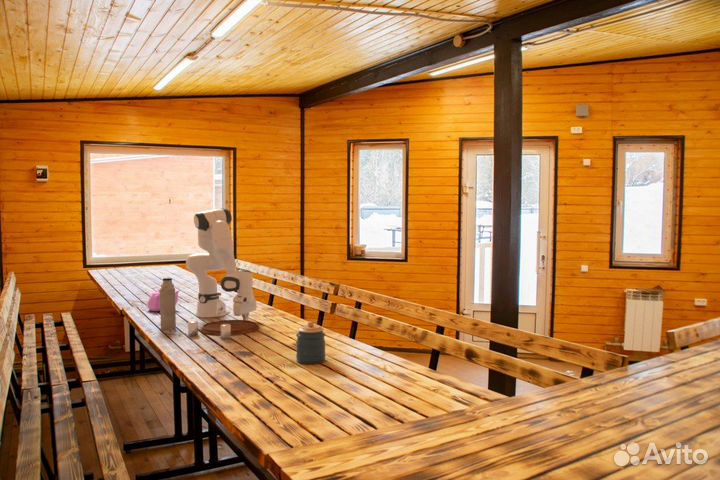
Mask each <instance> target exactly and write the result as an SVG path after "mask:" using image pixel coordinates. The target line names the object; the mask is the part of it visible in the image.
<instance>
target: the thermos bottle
mask: <svg viewBox="0 0 720 480" xmlns="http://www.w3.org/2000/svg"><path fill="white" fill-rule="evenodd" d="M160 286H161V288H159V289H160V311H159V312H160V329H161V330H174V329H175V328H176V326H177V325H176V324H177V323H176V321H177V319H176V316H177V313H176V304H175V292H176V288H175V284H174V283H173V278H171V277H170V278H169V277H166V278H164V277H163V278H162V284H161V285H160Z"/></svg>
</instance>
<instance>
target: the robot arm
mask: <svg viewBox="0 0 720 480" xmlns="http://www.w3.org/2000/svg"><path fill="white" fill-rule="evenodd" d="M232 221H233V219H232V214H231V211H230V210H229V209H227V208H218V209H217V208H216V209H215V208H214V209H210V210H209V209H208V210H205V211H199V212H196V213H195V215H193V223H194V226H195V228H196V229H197V239H198V241H197V244H198V246H199V248H200V249H202V250H203V251H206V252H207V253H194V254H188V256H187V258H186V260H185V265H186V268H187V270H189V271H190V272H192V273H193V274H194V275H195V277H196V279H197V283H198V295H197V298H198V301H197V302H196V303H197V305H196V312H195V316H196V317H198V318H217V317H220V318H221V317H223V316H225V315H228V314H229V313H230V310H228V309H227V308H226V307H227V306H226V303H225V302H224V301H223V300H221V299H220V296H222V292H218V280H217V279H216V278H215V277H213V276H211V275H208V274H207V273H208V272H210V271H211V272H216V271H217V272H219V271H223V270H225V271H226V276H224V277H223V278H222V279H221V281H220V288H221V289H222V291H224V292H228V293H230V292H236V291H237V294H236V295H235V297H233V298H232V302H233V303H232V305H233V306H232V308H233V315H234V316H237V317H238V316H240V317H242V320H247V321H249V316H250V313H252V312H254V311H256V310H257V308H258V307H257V300H256V297H255V295H254V290H253V286H254V280H253V279H254V278H253V273H252V271H251V270H249V269H243V268H240V269H238V267H237V263H236V258H235V255H234V254H235V253H234V243H233V237H232V233H231V229H230V227H229V225H230V224H231V222H232Z"/></svg>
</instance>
